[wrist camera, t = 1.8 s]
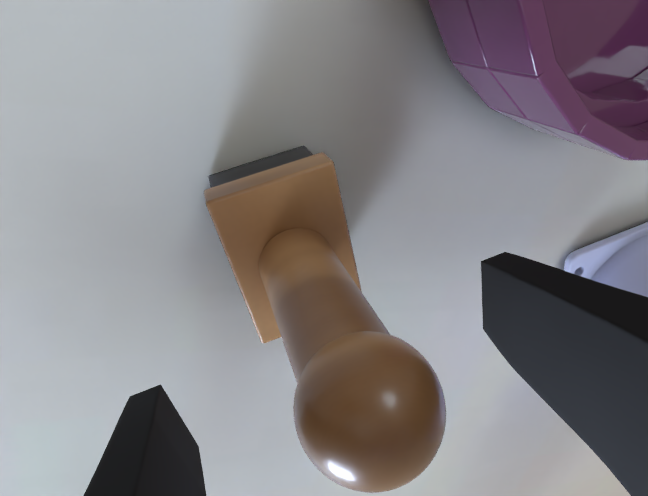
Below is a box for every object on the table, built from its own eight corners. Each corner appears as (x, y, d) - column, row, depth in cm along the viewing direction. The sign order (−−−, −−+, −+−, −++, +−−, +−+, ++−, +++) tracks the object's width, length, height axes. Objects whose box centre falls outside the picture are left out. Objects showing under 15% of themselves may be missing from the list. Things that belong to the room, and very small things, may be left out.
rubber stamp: (339, 267, 17) (499, 509, 9) (249, 300, 16) (329, 591, 8) (308, 137, 14) (498, 312, 6) (199, 171, 14) (244, 414, 5)
